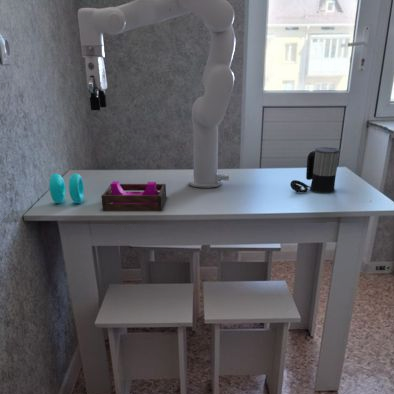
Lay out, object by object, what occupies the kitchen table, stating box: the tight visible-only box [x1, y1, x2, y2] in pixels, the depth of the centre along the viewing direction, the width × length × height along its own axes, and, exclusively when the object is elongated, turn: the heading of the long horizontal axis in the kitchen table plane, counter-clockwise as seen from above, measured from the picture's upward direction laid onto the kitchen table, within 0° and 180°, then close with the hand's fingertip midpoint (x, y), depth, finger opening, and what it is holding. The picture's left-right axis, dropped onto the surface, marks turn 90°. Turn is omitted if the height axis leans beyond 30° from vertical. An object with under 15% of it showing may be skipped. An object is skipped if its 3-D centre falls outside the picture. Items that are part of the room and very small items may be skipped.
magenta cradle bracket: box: [110, 180, 159, 204], centre depth 170 cm, size 15×6×8 cm, turn 85°
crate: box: [100, 183, 167, 212], centre depth 171 cm, size 20×17×5 cm
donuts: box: [49, 173, 85, 204], centre depth 171 cm, size 10×10×10 cm
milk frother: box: [289, 146, 341, 194], centre depth 182 cm, size 14×16×15 cm
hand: (99, 108), depth 174 cm, fingers open, 9 cm apart
